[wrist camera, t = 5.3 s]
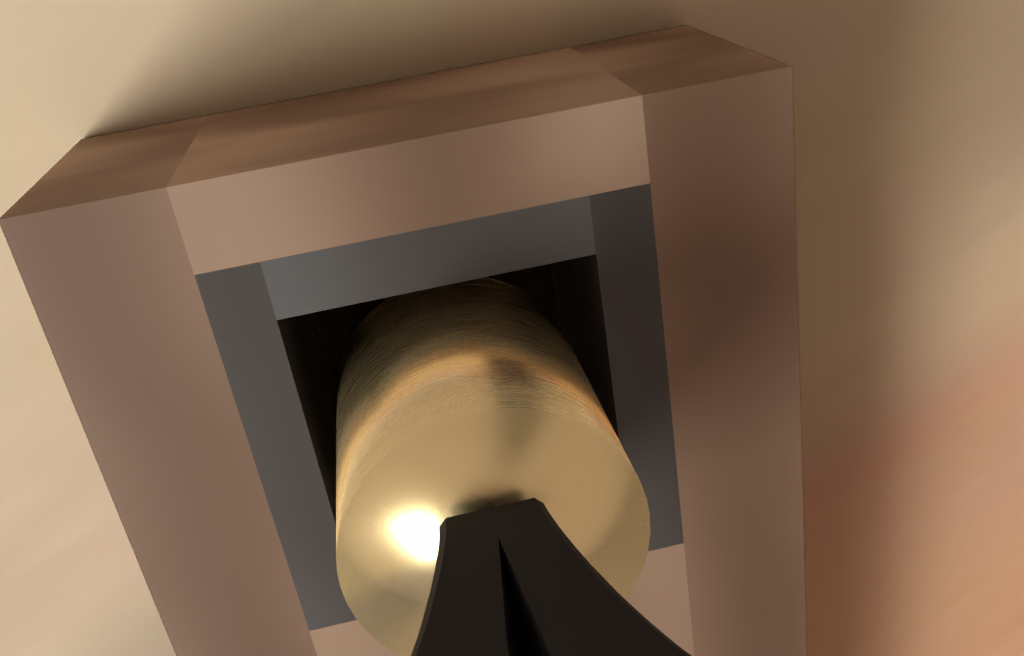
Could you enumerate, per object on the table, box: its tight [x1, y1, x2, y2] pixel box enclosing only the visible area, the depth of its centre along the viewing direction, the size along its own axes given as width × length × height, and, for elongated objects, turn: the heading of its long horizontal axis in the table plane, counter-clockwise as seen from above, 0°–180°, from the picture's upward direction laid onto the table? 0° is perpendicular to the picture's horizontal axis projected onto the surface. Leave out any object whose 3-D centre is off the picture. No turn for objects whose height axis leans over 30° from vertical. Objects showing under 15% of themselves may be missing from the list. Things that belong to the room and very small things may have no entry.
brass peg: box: [336, 277, 650, 656], centre depth 15 cm, size 4×4×5 cm
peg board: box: [0, 26, 807, 656], centre depth 21 cm, size 12×22×5 cm, turn 9°
